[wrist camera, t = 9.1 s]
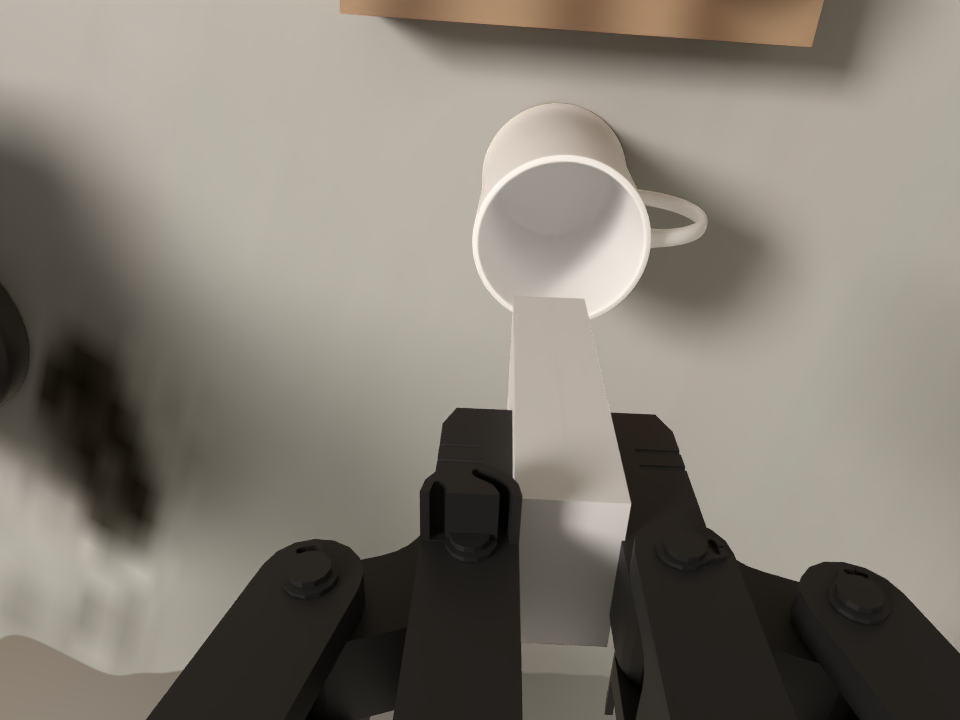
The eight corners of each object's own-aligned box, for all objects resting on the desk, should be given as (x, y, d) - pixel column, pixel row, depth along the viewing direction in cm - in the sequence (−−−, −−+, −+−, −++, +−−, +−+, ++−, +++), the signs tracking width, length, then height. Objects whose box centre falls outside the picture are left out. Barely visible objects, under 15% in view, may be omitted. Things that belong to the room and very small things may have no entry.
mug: (697, 122, 40) (756, 176, 30) (659, 262, 45) (699, 352, 34) (493, 92, 40) (479, 134, 30) (473, 234, 44) (456, 316, 34)
